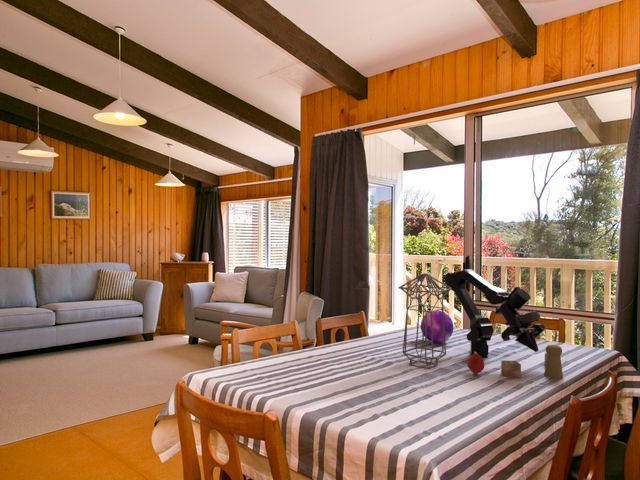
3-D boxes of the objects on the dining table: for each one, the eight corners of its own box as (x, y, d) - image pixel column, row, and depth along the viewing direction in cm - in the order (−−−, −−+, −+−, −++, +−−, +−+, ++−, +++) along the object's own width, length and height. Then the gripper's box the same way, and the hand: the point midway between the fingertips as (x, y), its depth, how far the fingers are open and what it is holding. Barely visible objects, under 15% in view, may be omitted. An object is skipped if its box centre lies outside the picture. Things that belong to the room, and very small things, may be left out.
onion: (484, 373, 168) (484, 350, 168) (484, 377, 162) (484, 354, 162) (467, 371, 169) (467, 349, 170) (466, 375, 164) (467, 352, 164)
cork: (565, 379, 162) (565, 347, 162) (546, 378, 163) (547, 346, 163) (560, 374, 168) (560, 344, 168) (542, 373, 169) (542, 343, 169)
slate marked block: (544, 366, 180) (544, 352, 180) (544, 363, 185) (544, 350, 185) (559, 368, 178) (559, 354, 178) (558, 365, 182) (559, 351, 182)
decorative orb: (457, 346, 212) (457, 313, 212) (423, 345, 213) (424, 312, 213) (448, 339, 227) (449, 308, 227) (417, 338, 228) (418, 308, 228)
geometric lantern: (452, 365, 177) (454, 273, 177) (431, 374, 166) (433, 276, 165) (416, 357, 188) (417, 270, 188) (393, 365, 177) (395, 272, 176)
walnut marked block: (506, 378, 162) (506, 363, 162) (501, 374, 167) (501, 359, 167) (520, 378, 162) (521, 363, 162) (515, 374, 167) (515, 360, 167)
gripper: (507, 304, 171) (533, 340, 161) (541, 302, 180) (568, 336, 170) (490, 322, 178) (514, 358, 168) (523, 320, 187) (548, 353, 177)
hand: (537, 351), depth 171 cm, fingers closed
